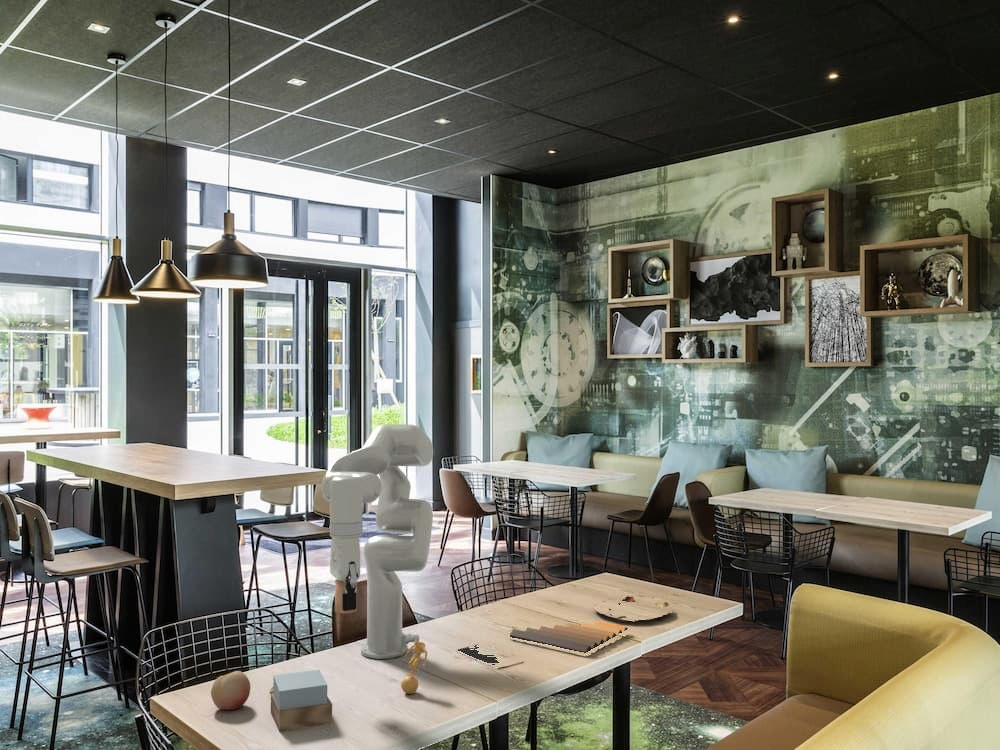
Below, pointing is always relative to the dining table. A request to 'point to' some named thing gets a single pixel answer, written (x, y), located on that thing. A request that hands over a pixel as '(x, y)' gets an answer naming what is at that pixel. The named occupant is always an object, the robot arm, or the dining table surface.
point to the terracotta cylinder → (340, 597)
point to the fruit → (230, 690)
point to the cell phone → (478, 655)
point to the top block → (299, 689)
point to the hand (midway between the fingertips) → (346, 606)
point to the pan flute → (571, 635)
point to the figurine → (413, 668)
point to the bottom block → (301, 716)
